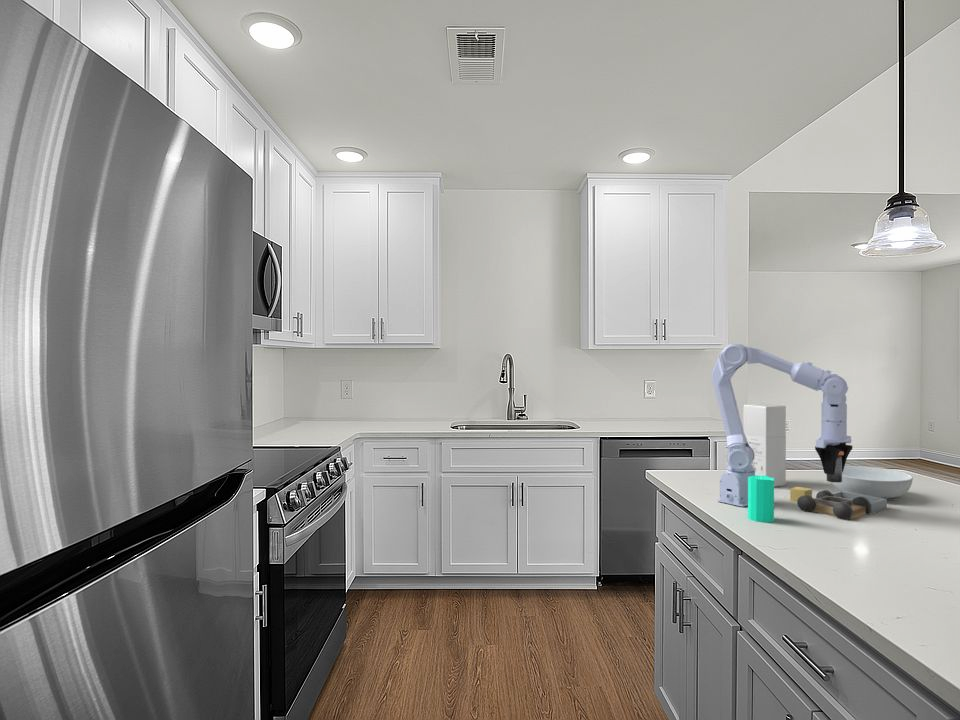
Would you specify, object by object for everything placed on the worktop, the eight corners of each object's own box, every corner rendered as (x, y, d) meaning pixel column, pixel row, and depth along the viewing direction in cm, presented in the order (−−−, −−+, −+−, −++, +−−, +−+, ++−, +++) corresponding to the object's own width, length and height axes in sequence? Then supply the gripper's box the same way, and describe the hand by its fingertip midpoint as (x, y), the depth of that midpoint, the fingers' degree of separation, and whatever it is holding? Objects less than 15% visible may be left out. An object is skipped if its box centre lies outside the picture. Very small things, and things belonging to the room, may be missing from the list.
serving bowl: (828, 499, 171) (828, 475, 171) (825, 485, 190) (826, 463, 190) (918, 508, 162) (918, 482, 162) (906, 492, 180) (906, 469, 180)
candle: (759, 523, 148) (759, 474, 148) (742, 516, 154) (742, 469, 153) (779, 521, 149) (779, 472, 149) (762, 515, 155) (762, 468, 155)
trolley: (870, 513, 156) (870, 498, 156) (849, 520, 150) (849, 504, 149) (819, 503, 167) (819, 489, 167) (797, 509, 160) (797, 494, 160)
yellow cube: (804, 503, 167) (804, 491, 167) (790, 500, 170) (790, 488, 170) (812, 501, 169) (812, 489, 169) (797, 498, 173) (797, 486, 173)
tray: (871, 513, 156) (871, 504, 156) (823, 504, 166) (823, 495, 166) (886, 508, 161) (886, 499, 161) (839, 499, 171) (839, 490, 171)
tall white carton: (786, 485, 189) (786, 405, 189) (766, 488, 186) (766, 406, 185) (762, 480, 197) (762, 403, 197) (742, 482, 194) (742, 404, 193)
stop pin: (839, 483, 155) (838, 452, 155) (821, 480, 159) (820, 450, 158) (847, 481, 157) (846, 450, 157) (829, 478, 161) (829, 448, 161)
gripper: (836, 424, 150) (836, 478, 151) (863, 420, 159) (863, 472, 159) (807, 421, 156) (807, 474, 156) (835, 418, 164) (835, 468, 165)
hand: (833, 473), depth 158 cm, fingers closed on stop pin, 4 cm apart
